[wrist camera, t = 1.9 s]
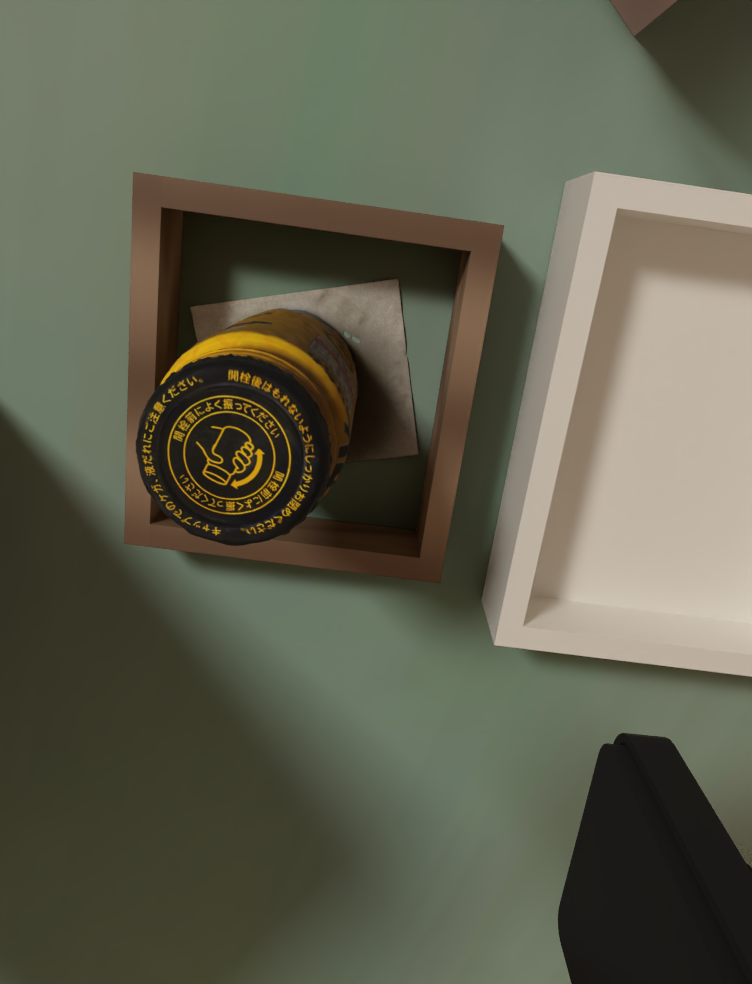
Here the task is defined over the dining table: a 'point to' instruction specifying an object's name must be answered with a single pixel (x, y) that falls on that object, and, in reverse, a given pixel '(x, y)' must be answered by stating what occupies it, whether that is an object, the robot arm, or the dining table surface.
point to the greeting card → (640, 12)
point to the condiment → (276, 409)
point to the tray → (635, 436)
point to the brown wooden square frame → (157, 351)
